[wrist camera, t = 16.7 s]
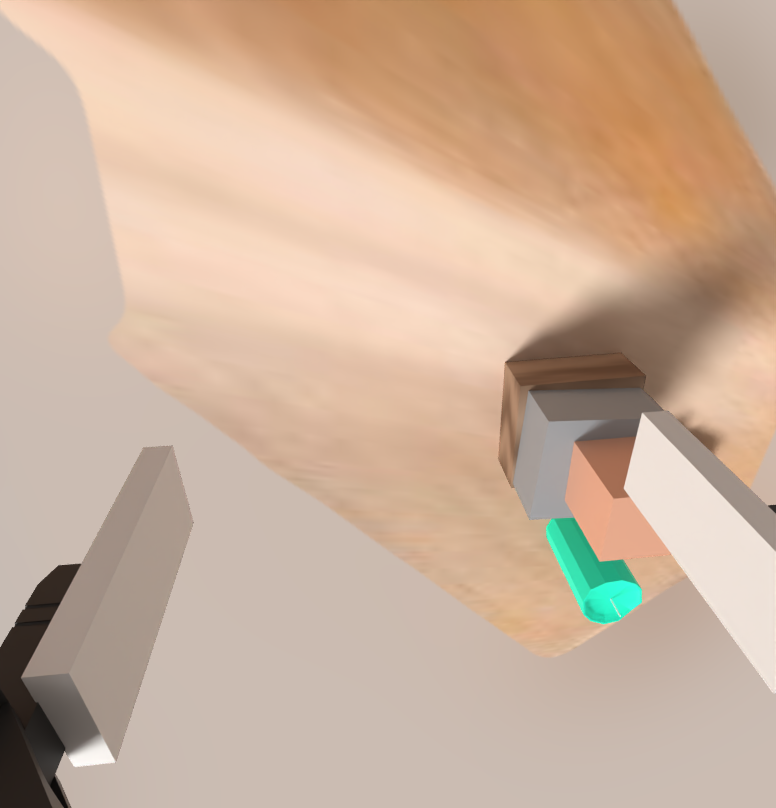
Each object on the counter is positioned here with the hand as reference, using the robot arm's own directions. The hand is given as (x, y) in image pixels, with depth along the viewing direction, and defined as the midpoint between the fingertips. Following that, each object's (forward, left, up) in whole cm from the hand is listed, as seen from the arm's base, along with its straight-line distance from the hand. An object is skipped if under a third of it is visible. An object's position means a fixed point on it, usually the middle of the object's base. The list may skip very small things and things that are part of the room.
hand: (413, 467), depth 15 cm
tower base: (+18, +18, -32) cm, 41 cm away
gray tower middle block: (+18, +18, -27) cm, 37 cm away
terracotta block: (+18, +19, -22) cm, 34 cm away
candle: (+34, +22, -32) cm, 52 cm away
